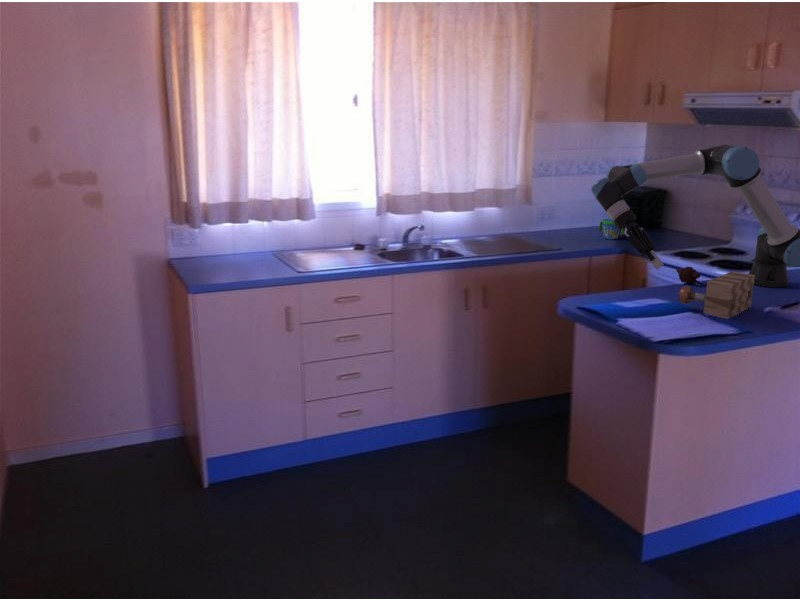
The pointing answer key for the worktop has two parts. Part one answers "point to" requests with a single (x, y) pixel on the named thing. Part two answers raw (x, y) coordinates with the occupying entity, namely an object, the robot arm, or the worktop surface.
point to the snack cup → (609, 229)
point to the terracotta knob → (690, 295)
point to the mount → (728, 294)
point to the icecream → (688, 275)
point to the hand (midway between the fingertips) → (660, 266)
